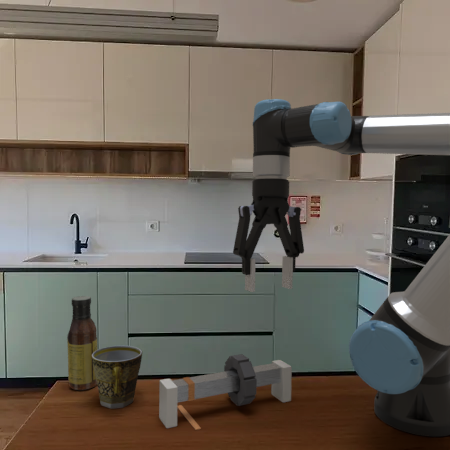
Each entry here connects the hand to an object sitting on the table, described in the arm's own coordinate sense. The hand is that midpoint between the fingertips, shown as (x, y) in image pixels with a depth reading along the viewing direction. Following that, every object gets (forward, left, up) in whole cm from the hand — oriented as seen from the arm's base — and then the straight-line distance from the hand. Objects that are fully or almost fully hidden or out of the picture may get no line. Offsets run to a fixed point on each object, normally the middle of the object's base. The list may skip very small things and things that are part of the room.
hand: (268, 289), depth 88 cm
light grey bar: (+9, 0, -19) cm, 21 cm away
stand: (+9, 0, -23) cm, 25 cm away
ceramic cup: (+29, -11, -24) cm, 39 cm away
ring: (+7, 0, -23) cm, 24 cm away
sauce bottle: (+34, -23, -24) cm, 47 cm away
